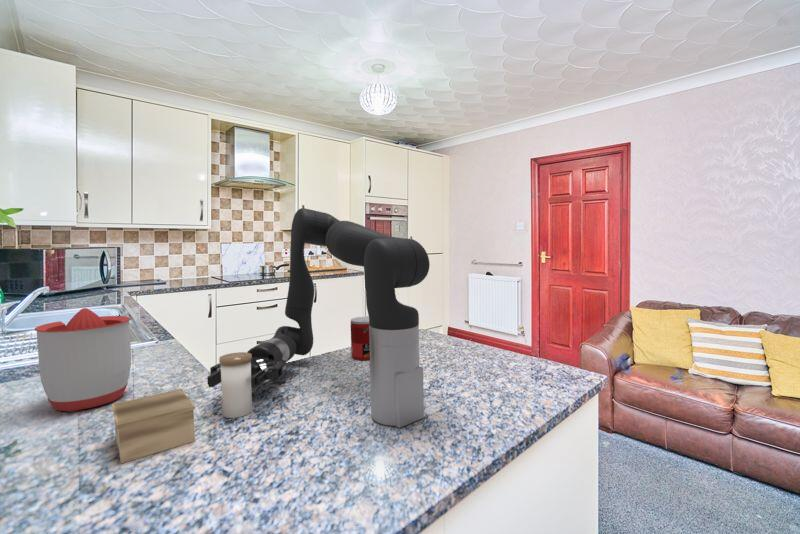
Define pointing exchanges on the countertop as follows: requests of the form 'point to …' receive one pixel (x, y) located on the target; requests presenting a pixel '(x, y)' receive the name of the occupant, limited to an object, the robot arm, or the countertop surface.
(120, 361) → the citrus juicer
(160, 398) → the oak box
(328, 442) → the countertop surface
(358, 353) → the canned food
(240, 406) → the cream jar
